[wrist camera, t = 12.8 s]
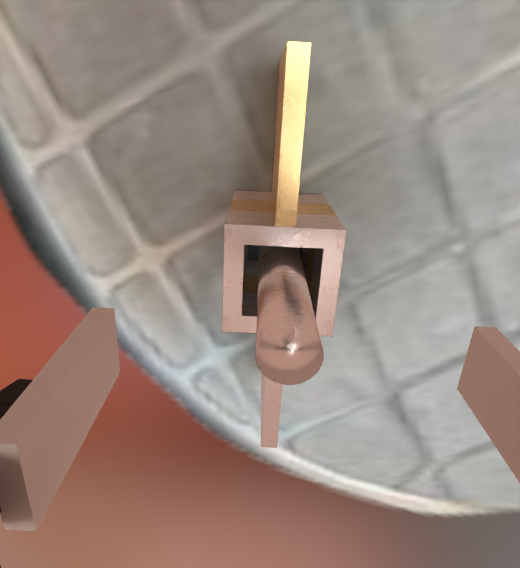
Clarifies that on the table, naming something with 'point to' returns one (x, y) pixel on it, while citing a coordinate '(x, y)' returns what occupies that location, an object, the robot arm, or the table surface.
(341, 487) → the table surface
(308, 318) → the hinge pin
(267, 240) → the hinge
